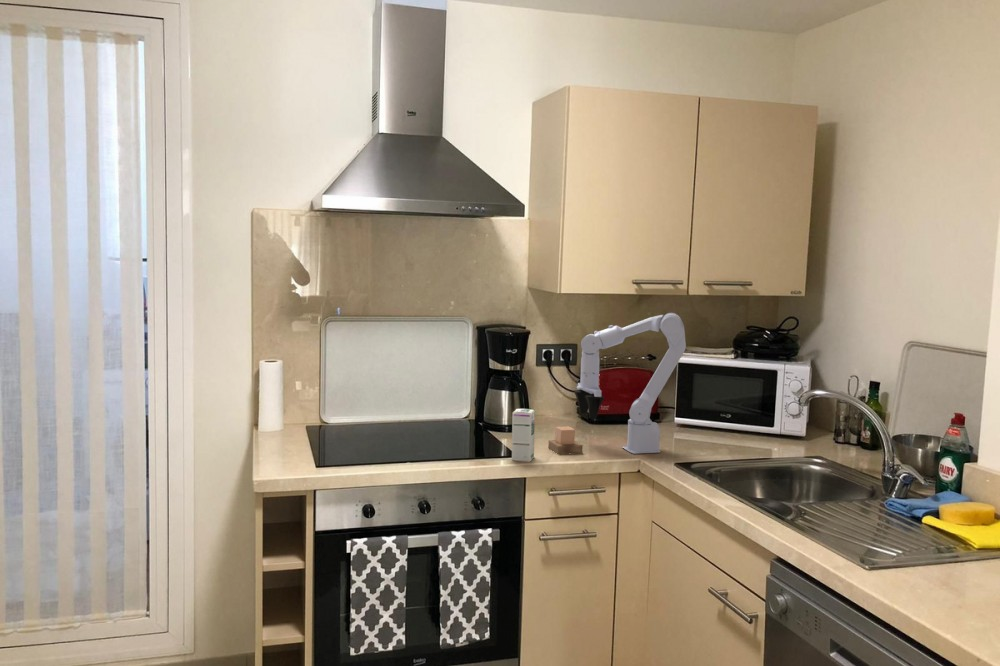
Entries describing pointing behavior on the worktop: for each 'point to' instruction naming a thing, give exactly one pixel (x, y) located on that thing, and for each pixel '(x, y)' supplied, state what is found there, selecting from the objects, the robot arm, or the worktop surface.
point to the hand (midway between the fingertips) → (588, 415)
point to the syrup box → (523, 435)
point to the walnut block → (565, 447)
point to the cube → (565, 435)
